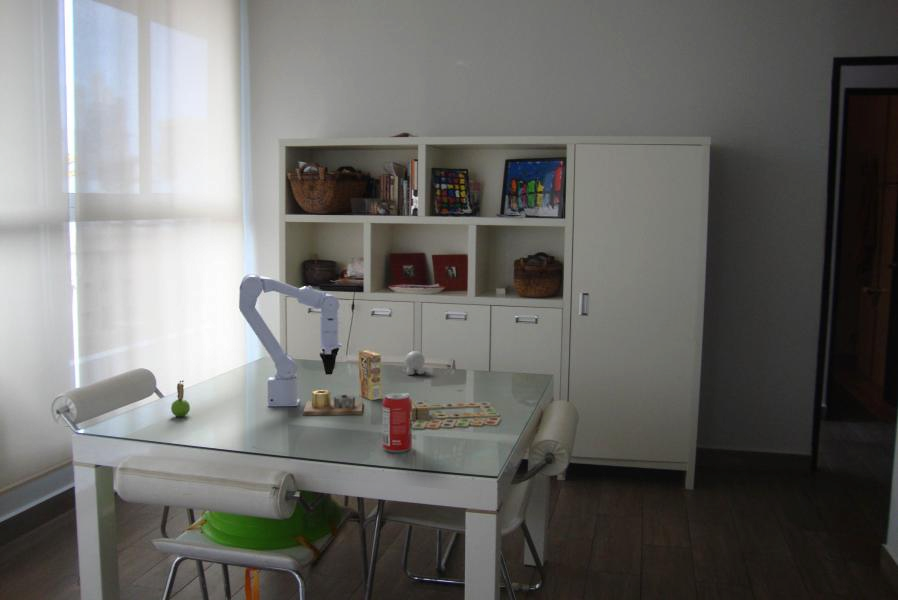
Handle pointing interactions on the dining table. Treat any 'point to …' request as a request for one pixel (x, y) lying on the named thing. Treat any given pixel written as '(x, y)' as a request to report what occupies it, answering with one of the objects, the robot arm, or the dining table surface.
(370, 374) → the candy box
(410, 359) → the chubby cartoon animal
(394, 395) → the soda can
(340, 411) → the gear board
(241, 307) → the robot arm
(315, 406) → the brass gear
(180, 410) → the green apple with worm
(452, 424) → the pile of dominoes
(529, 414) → the dining table surface
